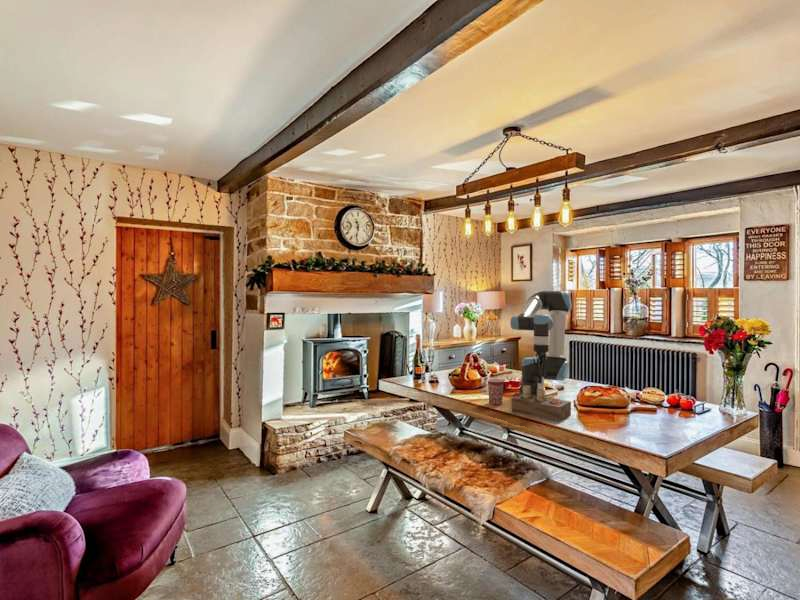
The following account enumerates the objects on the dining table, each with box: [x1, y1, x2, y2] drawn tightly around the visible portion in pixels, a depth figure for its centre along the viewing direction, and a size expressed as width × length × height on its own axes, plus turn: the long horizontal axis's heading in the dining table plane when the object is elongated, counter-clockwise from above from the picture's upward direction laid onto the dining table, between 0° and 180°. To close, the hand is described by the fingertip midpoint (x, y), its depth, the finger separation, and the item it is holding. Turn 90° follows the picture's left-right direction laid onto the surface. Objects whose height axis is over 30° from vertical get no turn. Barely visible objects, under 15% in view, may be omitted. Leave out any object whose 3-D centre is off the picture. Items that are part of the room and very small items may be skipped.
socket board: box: [511, 394, 572, 422], centre depth 232 cm, size 14×26×7 cm, turn 48°
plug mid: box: [537, 388, 546, 402], centre depth 232 cm, size 4×4×8 cm
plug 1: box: [523, 386, 531, 399], centre depth 237 cm, size 4×4×8 cm
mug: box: [487, 377, 507, 406], centre depth 252 cm, size 13×9×14 cm
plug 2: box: [551, 397, 561, 404], centre depth 227 cm, size 4×4×8 cm
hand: (540, 389), depth 232 cm, fingers closed
